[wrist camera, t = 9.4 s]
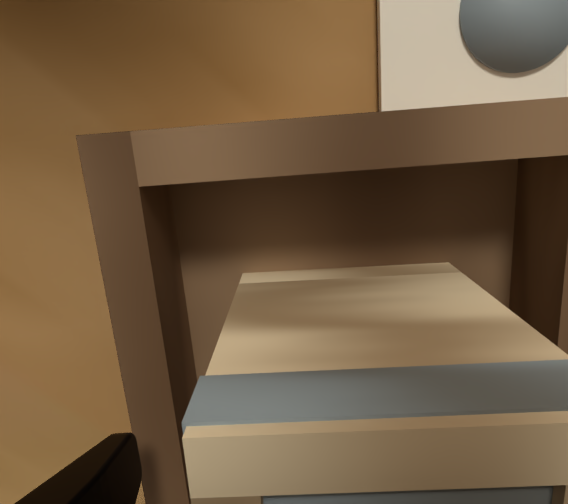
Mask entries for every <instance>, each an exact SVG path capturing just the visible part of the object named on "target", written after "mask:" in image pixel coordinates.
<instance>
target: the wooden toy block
mask: <svg viewBox="0 0 568 504" xmlns="http://www.w3.org/2000/svg"><path fill="white" fill-rule="evenodd" d="M182 430H183V437H182V441H183V449H184V456H185V463H186V470H187V477H188V484H189V492H190V499H191V504H568V354H566V353H565V352H564V351H562V350H561V349H560V348H559V347H557V346H556V345H555V344H553V343H552V342H551V341H549V340H548V339H547V338H546V337H544V336H543V335H542V334H540V333H539V332H538V331H537V330H535V329H534V328H533V327H531V326H530V325H529V324H528V323H526V322H525V321H524V320H522V319H521V318H520V317H519V316H517V315H516V314H515V313H513V312H512V311H511V310H510V309H508V308H507V307H506V306H504V305H503V304H502V303H500V302H499V301H498V300H497V299H495V298H494V297H493V296H491V295H490V294H489V293H488V292H486V291H485V290H484V289H482V288H481V287H480V286H479V285H477V284H476V283H475V282H473V281H472V280H471V279H470V278H468V277H467V276H466V275H464V274H463V273H462V272H460V271H459V270H458V269H457V268H455V267H454V266H453V265H451V264H450V263H449V262H446V263H427V264H407V265H388V266H369V267H350V268H331V269H312V270H292V271H273V272H254V273H243V274H242V277H241V279H240V282H239V285H238V287H237V290H236V293H235V296H234V298H233V301H232V304H231V306H230V309H229V312H228V315H227V317H226V320H225V323H224V326H223V328H222V331H221V334H220V336H219V339H218V342H217V345H216V347H215V350H214V353H213V355H212V358H211V361H210V364H209V366H208V369H207V372H206V375H205V376H200V377H199V379H198V382H197V384H196V387H195V390H194V392H193V395H192V397H191V400H190V402H189V405H188V408H187V410H186V413H185V415H184V418H183V420H182Z"/></svg>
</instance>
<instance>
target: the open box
mask: <svg viewBox="0 0 568 504" xmlns="http://www.w3.org/2000/svg"><path fill="white" fill-rule="evenodd" d="M76 139H77V145H78V150H79V155H80V160H81V166H82V171H83V176H84V181H85V187H86V192H87V197H88V202H89V208H90V213H91V218H92V223H93V229H94V234H95V239H96V244H97V250H98V255H99V260H100V265H101V271H102V276H103V281H104V286H105V292H106V297H107V302H108V307H109V313H110V318H111V323H112V328H113V334H114V339H115V344H116V350H117V355H118V360H119V365H120V371H121V376H122V381H123V386H124V392H125V397H126V402H127V407H128V413H129V418H130V423H131V428H132V433H133V434H134V435H135V437H136V440H137V445H138V450H139V455H140V461H141V466H142V479H141V481H142V486H143V491H144V497H145V502H146V504H191V499H190V492H189V484H188V477H187V470H186V463H185V456H184V449H183V441H182V437H183V430H182V420H183V418H184V415H185V413H186V410H187V408H188V405H189V402H190V400H191V397H192V395H193V392H194V390H195V387H196V384H197V382H198V379H199V377H200V376H205V375H206V372H207V369H208V366H209V364H210V361H211V358H212V355H213V353H214V350H215V347H216V345H217V342H218V339H219V336H220V334H221V331H222V328H223V326H224V323H225V320H226V317H227V315H228V312H229V309H230V306H231V304H232V301H233V298H234V296H235V293H236V290H237V287H238V285H239V282H240V279H241V277H242V274H243V273H254V272H273V271H292V270H312V269H331V268H350V267H369V266H388V265H407V264H427V263H446V262H449V263H450V264H451V265H453V266H454V267H455V268H457V269H458V270H459V271H460V272H462V273H463V274H464V275H466V276H467V277H468V278H470V279H471V280H472V281H473V282H475V283H476V284H477V285H479V286H480V287H481V288H482V289H484V290H485V291H486V292H488V293H489V294H490V295H491V296H493V297H494V298H495V299H497V300H498V301H499V302H500V303H502V304H503V305H504V306H506V307H507V308H508V309H510V310H511V311H512V312H513V313H515V314H516V315H517V316H519V317H520V318H521V319H522V320H524V321H525V322H526V323H528V324H529V325H530V326H531V327H533V328H534V329H535V330H537V331H538V332H539V333H540V334H542V335H543V336H544V337H546V338H547V339H548V340H549V341H551V342H552V343H553V344H555V345H556V346H557V347H559V348H560V349H561V350H562V351H564V352H565V353H566V354H568V97H559V98H546V99H534V100H521V101H508V102H496V103H483V104H470V105H457V106H445V107H432V108H419V109H407V110H394V111H381V112H368V113H356V114H343V115H330V116H317V117H305V118H292V119H279V120H267V121H254V122H241V123H228V124H216V125H203V126H190V127H178V128H165V129H152V130H139V131H127V132H114V133H101V134H89V135H76Z"/></svg>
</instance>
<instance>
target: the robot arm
mask: <svg viewBox="0 0 568 504" xmlns="http://www.w3.org/2000/svg"><path fill="white" fill-rule="evenodd" d="M141 479H142V466H141V461H140V455H139V450H138V445H137V440H136V437H135V435H134V434H133V433H115V434H111V435H110V436H108V437H107V438H105V439H104V440H103V441H101V442H100V443H99V444H97V445H96V446H94V447H93V448H92V449H90V450H89V451H87V452H86V453H85V454H83V455H82V456H80V457H79V458H78V459H76V460H75V461H73V462H72V463H71V464H69V465H68V466H66V467H65V468H64V469H62V470H61V471H59V472H58V473H57V474H55V475H54V476H52V477H51V478H50V479H48V480H47V481H45V482H44V483H43V484H41V485H40V486H38V487H37V488H36V489H34V490H33V491H31V492H30V493H29V494H27V495H26V496H24V497H23V498H22V499H20V500H19V501H17V502H16V503H15V504H135V503H136V499H137V495H138V491H139V487H140V484H141Z"/></svg>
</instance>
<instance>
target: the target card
mask: <svg viewBox="0 0 568 504" xmlns="http://www.w3.org/2000/svg"><path fill="white" fill-rule="evenodd" d="M377 29H378V86H379V112H381V111H394V110H407V109H419V108H432V107H445V106H457V105H470V104H483V103H496V102H508V101H521V100H534V99H546V98H559V97H568V0H377Z"/></svg>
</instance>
